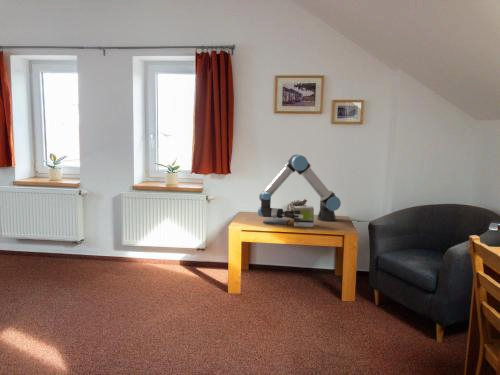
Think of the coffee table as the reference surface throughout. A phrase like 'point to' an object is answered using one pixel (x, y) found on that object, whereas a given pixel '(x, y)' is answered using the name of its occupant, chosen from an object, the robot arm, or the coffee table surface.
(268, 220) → the rubber mat
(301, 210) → the tea box
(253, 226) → the coffee table surface
